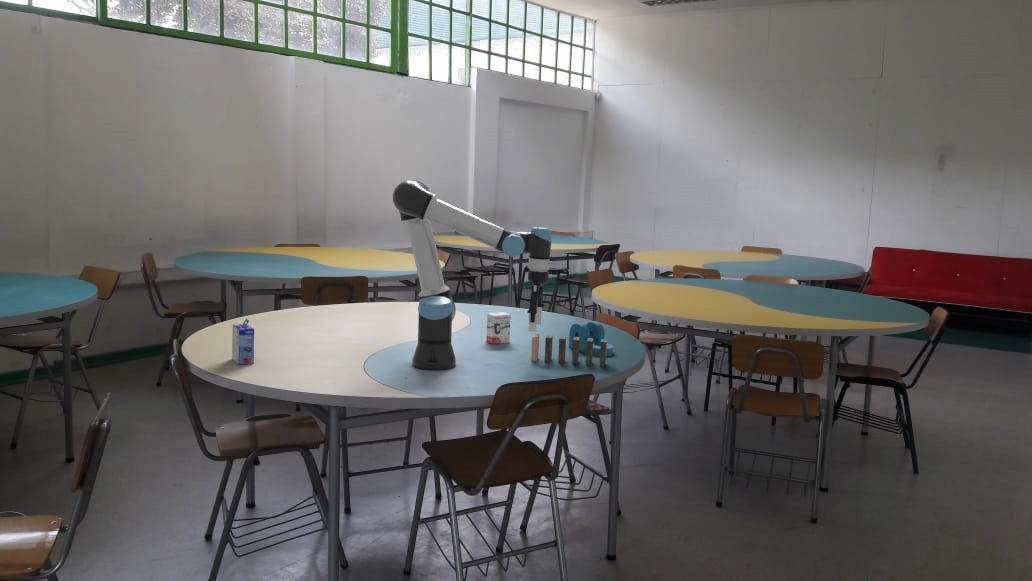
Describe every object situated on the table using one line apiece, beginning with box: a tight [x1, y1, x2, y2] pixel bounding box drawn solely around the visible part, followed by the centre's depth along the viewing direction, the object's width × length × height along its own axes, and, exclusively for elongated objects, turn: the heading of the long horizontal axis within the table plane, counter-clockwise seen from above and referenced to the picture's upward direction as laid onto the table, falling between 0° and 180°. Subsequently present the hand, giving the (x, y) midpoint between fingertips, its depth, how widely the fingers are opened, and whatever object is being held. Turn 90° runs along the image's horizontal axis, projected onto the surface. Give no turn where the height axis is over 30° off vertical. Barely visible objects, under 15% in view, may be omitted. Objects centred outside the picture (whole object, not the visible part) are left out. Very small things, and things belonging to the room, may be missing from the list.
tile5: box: [585, 338, 593, 366], centre depth 274 cm, size 2×5×9 cm, turn 171°
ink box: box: [485, 311, 512, 345], centre depth 303 cm, size 8×5×12 cm, turn 123°
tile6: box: [599, 338, 608, 368], centre depth 273 cm, size 2×5×9 cm, turn 171°
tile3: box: [557, 335, 567, 364], centre depth 276 cm, size 2×5×9 cm, turn 171°
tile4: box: [571, 337, 580, 365], centre depth 275 cm, size 2×5×9 cm, turn 171°
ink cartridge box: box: [231, 318, 255, 365], centre depth 257 cm, size 10×6×14 cm, turn 33°
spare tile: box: [530, 333, 540, 362], centre depth 277 cm, size 2×5×9 cm, turn 171°
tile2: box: [544, 334, 554, 363], centre depth 276 cm, size 2×5×9 cm, turn 171°
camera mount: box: [568, 321, 614, 357], centre depth 295 cm, size 18×10×10 cm, turn 34°
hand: (534, 327), depth 276 cm, fingers open, 13 cm apart
